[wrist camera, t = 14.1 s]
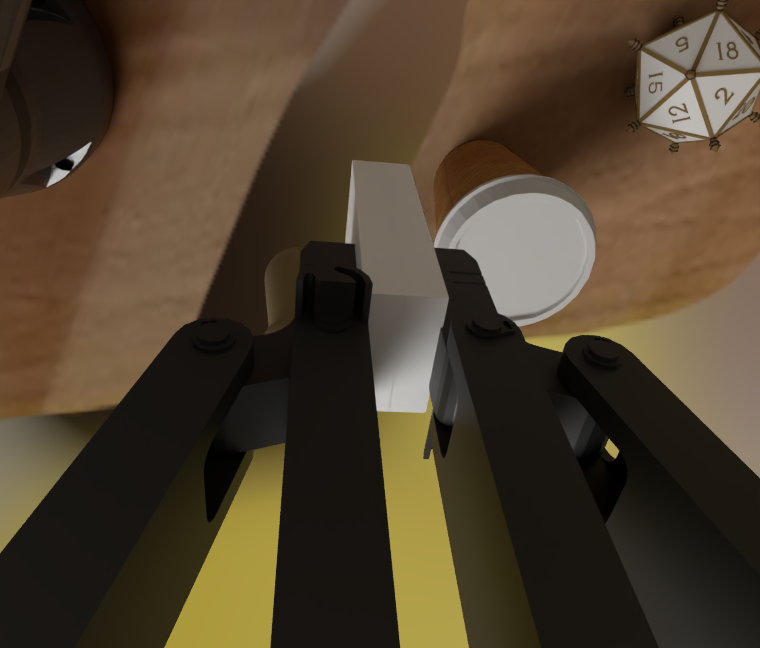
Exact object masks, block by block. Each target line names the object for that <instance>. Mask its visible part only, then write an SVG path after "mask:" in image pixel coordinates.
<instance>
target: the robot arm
mask: <svg viewBox="0 0 760 648" xmlns="http://www.w3.org/2000/svg"><path fill="white" fill-rule="evenodd" d="M112 107H113V77H112V71H111V66H110V61H109V57H108V54H107V51H106V48H105V45H104V42H103V40H102V37H101V35H100V33H99V31H98V28H97V26H96V25H95V23H94V21H93V19H92V17H91V16H90V14H89V12H88V11H87V9H86V7H85V6H84V5H83V3H82V2H81V0H0V198H4V197H9V196H14V195H20V194H25V193H30V192H34V191H38V190H42V189H45V188H47V187H50V186H52V185H54V184H56V183H58V182H60V181H62V180H63V179H65V178H67V177H68V176H69V175H71V174H72V173H73V172H75V171H76V170H77V169H78V168H79V167H80V166H81V165H82V164H83V163H84V162H85V161H86V160H87V159H88V157H89V156H90V155H91V154H92V153H93V152H94V151H95V149H96V148H97V147H98V145H99V144H100V142H101V140H102V138H103V137H104V135H105V132H106V130H107V127H108V125H109V122H110V118H111V113H112ZM429 394H430V396H431V401H432V405H433V411H432V416H431V421H430V425H429V430H428V435H427V439H426V444H425V449H424V457H423V458H424V459H429V456H430V451H431V449H433V454H434V460H435V465H436V470H437V476H438V481H439V487H440V492H441V498H442V503H443V509H444V514H445V519H446V525H447V530H448V536H449V541H450V547H451V552H452V557H453V563H454V568H455V574H456V579H457V585H458V590H459V595H460V601H461V606H462V612H463V617H464V622H465V628H466V633H467V639H468V644H469V648H760V478H759V477H758V476H757V475H756V474H755V473H754V472H753V471H752V470H751V469H750V468H749V467H748V466H747V465H746V464H745V463H744V462H743V461H742V460H741V459H740V458H739V457H738V456H737V455H736V454H735V453H733V451H732V450H730V449H729V448H728V447H727V446H726V445H725V444H724V443H723V442H722V441H721V440H720V439H719V438H718V437H717V436H716V435H715V434H714V433H713V432H712V431H711V430H710V429H709V428H708V427H707V426H706V425H705V424H704V423H703V422H702V421H701V420H700V419H699V418H698V417H697V416H696V415H695V414H694V413H693V412H692V411H691V410H690V409H689V408H688V407H687V406H686V405H684V403H683V402H681V400H679V398H678V397H677V396H675V395H674V394H673V393H672V392H671V391H670V390H669V389H668V388H667V387H666V386H665V385H664V384H663V383H662V382H661V381H660V380H659V379H658V378H657V377H656V376H655V375H654V374H653V373H652V372H651V371H650V370H649V369H648V368H647V367H646V366H645V365H644V364H642V362H641V361H640V360H639V359H638V358H637V357H636V356H635V355H634V354H633V353H632V352H630V351H629V350H628V349H626V348H625V347H624V346H622V345H621V344H618V343H616V342H614V341H612V340H610V339H608V338H605V337H600V336H594V335H580V336H576V337H573V338H571V339H570V340H569V341H568V342H567V343H566V344H565V347H564V349H563V352H558V351H554V350H550V349H546V348H543V347H539V346H536V345H533V344H529V343H527V342H526V341H525V339H524V337H523V334H522V332H521V330H520V329H519V327H518V326H517V325H516V323H515V322H513V321H512V320H510V319H509V318H507V317H506V316H504V315H501V314H499V313H498V312H497V310H496V307H495V305H494V302H493V300H492V297H491V295H490V292H489V290H488V287H487V286H486V282H485V280H484V277H483V276H482V272H481V270H480V268H479V265H478V263H477V261H476V260H475V259H474V258H473V257H472V256H471V255H469V254H468V253H467V252H466V251H465V250H462V249H447V248H434V246H433V243H432V239H431V236H430V233H429V229H428V226H427V223H426V219H425V216H424V213H423V209H422V206H421V203H420V199H419V196H418V193H417V189H416V186H415V183H414V179H413V176H412V172H411V169H410V166H409V165H406V164H394V163H382V162H370V161H358V160H352V171H351V182H350V194H349V205H348V216H347V228H346V238H345V243H334V242H318V241H310V242H309V243H308V244H307V245H306V246H305V247H304V248H303V249H302V250H301V254H300V267H299V274H298V276H297V279H296V297H295V317H294V319H293V320H292V321H291V323H290V324H289V325H287V326H286V327H284V328H283V329H281V330H278V331H276V332H273V333H269V334H265V335H259V336H253V335H252V333H251V331H250V329H248V328H247V327H246V326H244V325H243V324H242V323H240V322H237V321H234V320H230V319H226V318H207V319H199V320H196V321H193V322H191V323H188V324H186V325H184V326H183V327H182V328H180V329H179V330H178V331H177V332H176V333H175V334H174V335H173V336H172V338H171V339H170V340H169V341H168V343H167V344H166V345H165V346H164V348H163V349H162V350H161V352H160V353H159V354H158V355H157V357H156V358H155V359H154V360H153V362H152V363H151V364H150V365H149V367H148V368H147V369H146V370H145V372H144V373H143V374H142V375H141V377H140V378H139V379H138V380H137V382H136V383H135V384H134V386H133V387H132V388H131V389H130V391H129V392H128V393H127V394H126V396H125V397H124V398H123V399H122V401H121V402H120V403H119V404H118V406H117V407H116V408H115V409H114V411H113V412H112V413H111V415H110V416H109V417H108V418H107V420H106V421H105V422H104V423H103V425H102V426H101V427H100V428H99V430H98V431H97V432H96V433H95V435H94V436H93V437H92V438H91V440H90V441H89V442H88V443H87V445H86V446H85V447H84V448H83V450H82V451H81V453H80V454H79V455H78V456H77V457H76V459H75V460H74V461H73V462H72V464H71V465H70V466H69V467H68V469H67V470H66V471H65V472H64V474H63V475H62V476H61V477H60V479H59V480H58V481H57V483H56V484H55V485H54V486H53V488H52V489H51V490H50V491H49V493H48V494H47V495H46V496H45V498H44V499H43V500H42V501H41V503H40V504H39V505H38V506H37V508H36V509H35V510H34V511H33V513H32V514H31V515H30V517H29V518H28V519H27V520H26V522H25V523H24V524H23V525H22V527H21V528H20V529H19V530H18V532H17V533H16V534H15V535H14V537H13V538H12V539H11V541H10V542H9V543H8V544H7V545H6V547H5V548H4V549H3V551H2V552H1V553H0V648H164V647H165V645H166V642H167V640H168V638H169V636H170V634H171V632H172V630H173V628H174V626H175V623H176V621H177V619H178V617H179V615H180V613H181V611H182V608H183V606H184V604H185V602H186V600H187V598H188V596H189V593H190V591H191V589H192V587H193V585H194V583H195V580H196V578H197V576H198V574H199V572H200V570H201V568H202V565H203V563H204V561H205V559H206V557H207V555H208V553H209V550H210V548H211V546H212V544H213V542H214V540H215V538H216V535H217V533H218V531H219V529H220V527H221V525H222V523H223V520H224V519H225V516H226V514H227V512H228V510H229V508H230V506H231V503H232V501H233V499H234V497H235V495H236V493H237V491H238V488H239V486H240V484H241V482H242V480H243V478H244V476H245V474H246V471H247V469H248V467H249V465H250V463H251V461H252V458H253V452H254V449H259V448H263V447H268V446H272V445H277V444H281V443H285V442H286V443H285V457H284V471H283V484H282V498H281V512H280V525H279V539H278V553H277V566H276V580H275V595H274V607H273V622H272V635H271V648H400V642H399V631H398V621H397V611H396V601H395V590H394V581H393V570H392V560H391V550H390V540H389V529H388V520H387V509H386V499H385V490H384V479H383V469H382V458H381V448H380V438H379V428H378V418H377V411H390V412H418V413H425V412H426V408H427V403H428V399H429ZM608 439H610V440H611V441H612V442H613V444H614V445H615V446H616V447H617V448H618V450H619V453H618V456H617V457H616V459H614V458H613V457H612V456H611V455H610V454H609V453H608V452H607V450H606V449H605V446H606V444H607V441H608Z"/></svg>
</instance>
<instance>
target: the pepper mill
mask: <svg viewBox="0 0 760 648" xmlns="http://www.w3.org/2000/svg"><path fill="white" fill-rule="evenodd" d="M304 247H305V246H298V247H291V248H288V249H286V250H284V251H281V252H280V253H278V254H277V255H276V256H275V257H274V258H273V259H272V260H271V261H270V263H269V265H268V267H267V269H266V274H265V289H266V300H267V311H268V322H269V327H268V329H267V331H266V332H265V334H269V333H273V332H276V331H278V330H281V329H283V328H284V327H286V326H287V325H289V324H290V323H291V321H292V320H293V319H294V317H295V297H296V279H297V276H298V274H299V267H300V254H301V250H302V249H303V248H304ZM265 334H264V335H265Z"/></svg>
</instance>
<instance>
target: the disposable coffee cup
mask: <svg viewBox="0 0 760 648" xmlns="http://www.w3.org/2000/svg"><path fill="white" fill-rule="evenodd" d="M434 192H435V214H436V234H437V235H436V238H435V241H434V245H433V246H434V248H447V249H462V250H465V251H466V252H467V253H468V254H469V255H471V256H472V257H473V258H474V259H475V260H476V261H477V263H478V265H479V268H480V270H481V272H482V276H483V277H484V280H485V282H486V286H487V287H488V290H489V292H490V295H491V297H492V300H493V302H494V305H495V307H496V310H497V312H498V313H499V314H501V315H504V316H506V317H507V318H509V319H510V320H512V321H513V322H515V323H516V325H517V326H524V325H528V324H532V323H535V322H538V321H540V320H543V319H546V318H548V317H549V316H551V315H553V314H554V313H556V312H558V311H559V310H561V309H562V308H564V307H565V306H566V305H567V304H568V303H569V302H570V301H571V300H572V299H573V298H575V297H576V296H577V294H578V293H579V291H580V290H581V289H582V287H583V286H584V284H585V283H586V281H587V280H588V278H589V275H590V272H591V269H592V266H593V263H594V260H595V247H596V226H595V223H594V219H593V216H592V213H591V211H590V209H589V208H588V206H587V204H586V202H585V201H584V200H583V199H582V198H581V197H580V196H579V194H578V193H577V192H576V191H574V190H573V189H571V188H570V187H569V186H567V185H566V184H564V183H562V182H560V181H558V180H556V179H554V178H551V177H546V176H543V175H542V174H541V173H539V172H538V171H537V170H535V169H534V168H533V167H532V166H530V165H529V164H528V163H526V162H525V161H523V160H522V159H521V158H519V157H518V156H517V155H515V154H514V153H513V152H511V151H510V150H509V149H508V148H506V147H505V146H503V145H502V144H499V143H497V142H494V141H489V140H476V141H472V142H468V143H465V144H463V145H461V146H459V147H457V148H456V149H454V150H453V151H452V152H450V153H449V154H448V155H447V156H446V157H445V159H444V160H443V162H442V163H441V165H440V166H439V168H438V170H437V173H436V177H435V181H434Z"/></svg>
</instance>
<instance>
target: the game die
mask: <svg viewBox="0 0 760 648" xmlns="http://www.w3.org/2000/svg"><path fill="white" fill-rule="evenodd" d="M727 1H728V0H718V2H717V3H716V5H717V8H716V10H714V11H711V12H709V13H707V14H705V15H702V16H700V17H698V18H696V19H693V20H691V21H689V22H687V23H684V24H683V17H679V16H676V18H675V20H674V21H673V23H675V24H674V25H675V26H676V28H674V29H672V30H670V31H668V32H666V33H664V34H662V35H660V36H658V37H656V38H654V39H652V40H650V41H648V42H646V43H644V44H640V42H639V40H638V41H637V40H636V38H635V39H630V40H628V43H629V46H630V47H629V48H633V50H634V49H637V50H638V58H637V68H636V78H635V88H632V87H631V88H627V90H626V91H625V92H624V94H626V95H627V97H629V96H630V95H631V96H632V95H634V94H635V106H636V118H637V121H636V122H632V124H629V125H628V128H627V130H626V132H634V131H635V130H637V129H638V127H639V126H640V125H641V126H643V127H645V128H647V129H649V130H651V131H652V132H654V133H656V134H658V135H660V136H662V137H664V138H666V139H668V140H670V141H672V142H673V144H672V145H670V148H669V150H670V151H671V154H672V155H673V154H674V153H675V152H678V148H679V145H678V144H679V143H688V142H699V141H710V144H709V146H710V150H713V151H715V152H717V151H718V149H719V147H720V146H721V145H720V144H719V141H717V138H718V137H719V136H720V135H722V134H723V133H725V132H726V131H728V130H729V129H731V128H732V127H734V126H735V125H737V124H738V123H740V122H741V121H742V120H744V119H745V118H747V117H750V120H751V121H752V120H753V122H754V123H755V122H759V121H760V114H758V112H753V109H754V106H755V104H756V101H757V99H758V96H759V94H760V46H759V43H758V41H757V40H760V30H759V31H757V32H756V34H755V35H752V34H751V33H750V32H749V31H747V30H746V29H745V28H744V27H743V26H741V25H740V24H739V23H738V22H736V21H735V20H734V19H733V18H732V17H730V16H729V15H728V14H727V13H726V12H724V11H723V8H724V7H725V6H726V5H727V4H726V2H727Z"/></svg>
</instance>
